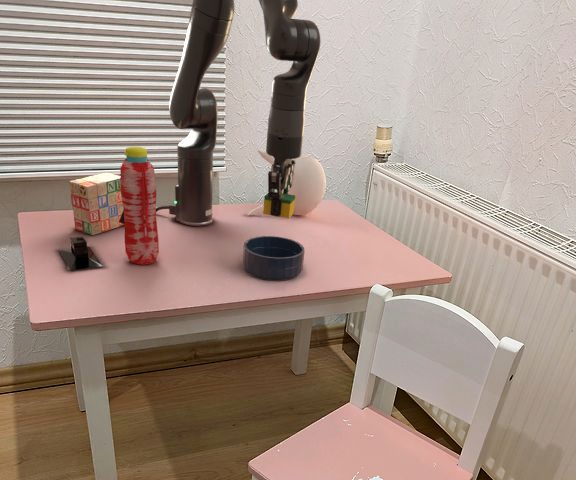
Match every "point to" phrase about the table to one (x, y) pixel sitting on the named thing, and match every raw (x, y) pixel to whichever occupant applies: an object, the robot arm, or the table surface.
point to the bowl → (273, 258)
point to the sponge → (286, 207)
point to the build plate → (80, 255)
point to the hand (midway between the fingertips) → (278, 212)
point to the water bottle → (139, 207)
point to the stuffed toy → (302, 184)
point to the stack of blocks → (97, 203)
